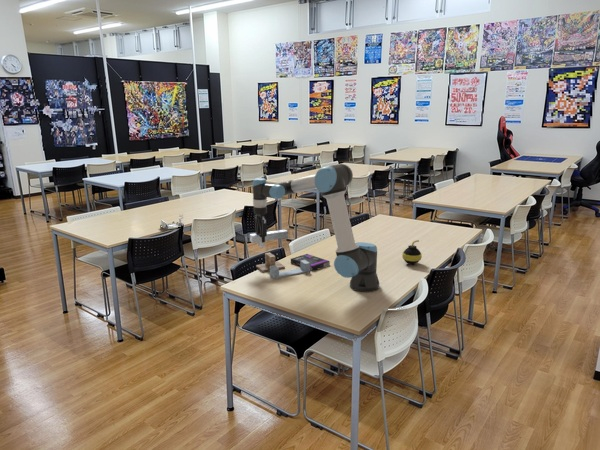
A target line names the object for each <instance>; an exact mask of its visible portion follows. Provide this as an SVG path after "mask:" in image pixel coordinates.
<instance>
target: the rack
mask: <svg viewBox="0 0 600 450" xmlns="http://www.w3.org/2000/svg"><path fill="white" fill-rule="evenodd" d="M310 272H311V270H310V263H309V262H308V261H306V260H301V261H300V266H299V268H295V269H294V268H293V269H290V270H283V271H280V269H279V268H278V267H276V266H275V265H273V266H270V271H269V276H270V277H271V278H272V279H275V280H276V279H280V278H286V277H290V276H291V277H292V276H296V275H302V274H306V273H307V274H308V273H310Z"/></svg>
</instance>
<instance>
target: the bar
mask: <svg viewBox="0 0 600 450" xmlns="http://www.w3.org/2000/svg"><path fill="white" fill-rule="evenodd" d="M260 236H261V233H256V232H255V233H250V234H249V242H251V243H252V244H254V243H256V244H257V242H260ZM287 238H289V231H288V230H287V229H278V230H272V231H271V230H270V231H267V236H265V242H269V241H276V240H281V239H282V240H283V239H287Z"/></svg>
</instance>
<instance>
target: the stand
mask: <svg viewBox="0 0 600 450" xmlns="http://www.w3.org/2000/svg"><path fill="white" fill-rule="evenodd" d="M264 259H265V263H261V264H256V265H255V268H257V270H258V271H260V272H261V273H267V272H270V266H273V265H275V266H276V267H278V268H279V270H284V269H286V266H285V265H284V264H282V263H281V262H280V261H276V256H275V254H273V253H271V252H265V253H264Z"/></svg>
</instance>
